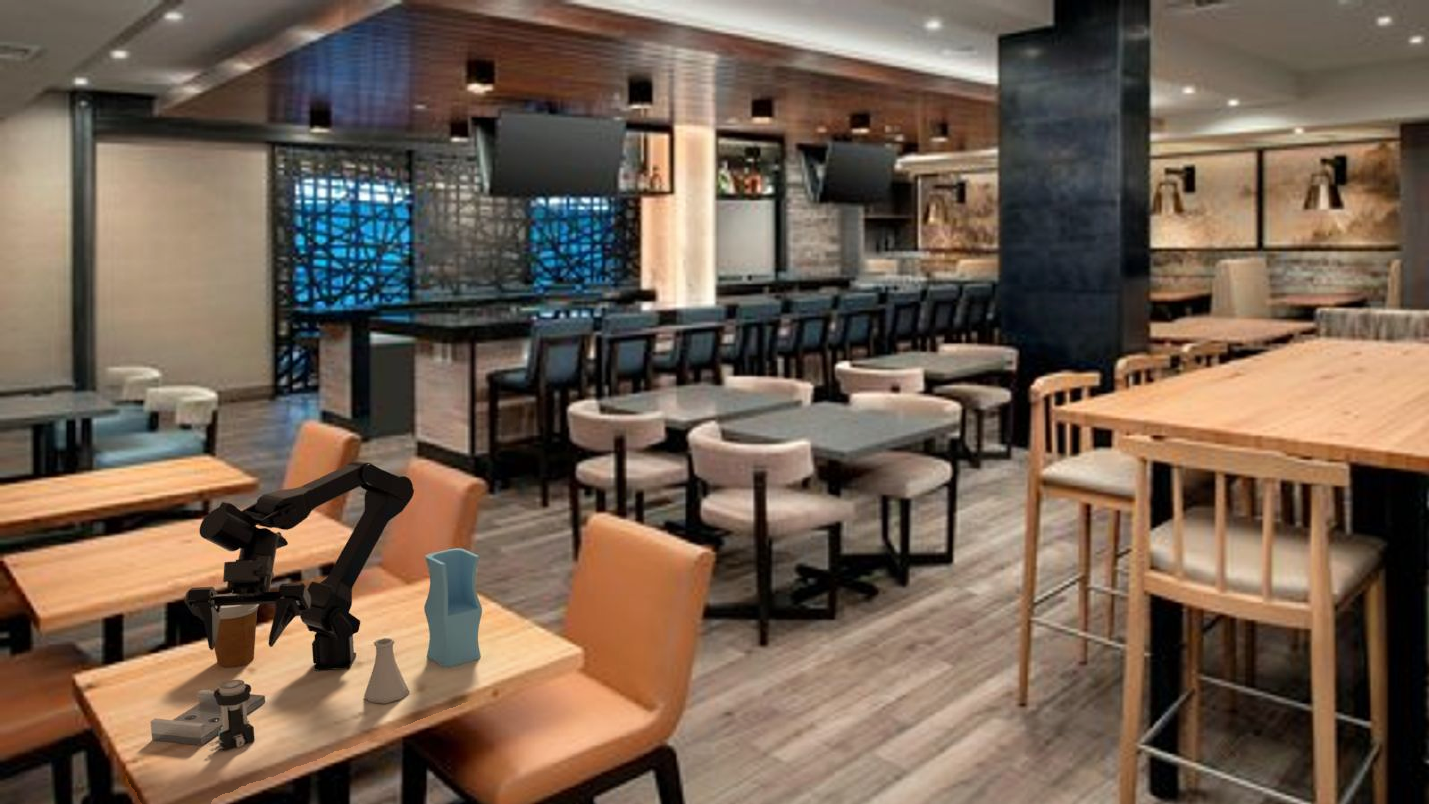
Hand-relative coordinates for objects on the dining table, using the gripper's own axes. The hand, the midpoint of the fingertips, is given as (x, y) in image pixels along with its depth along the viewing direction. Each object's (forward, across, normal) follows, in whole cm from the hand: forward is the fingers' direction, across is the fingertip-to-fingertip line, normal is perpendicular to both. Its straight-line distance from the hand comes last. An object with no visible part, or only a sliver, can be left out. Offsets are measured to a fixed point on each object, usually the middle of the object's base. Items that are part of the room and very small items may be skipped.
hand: (240, 647), depth 169 cm
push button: (+15, 0, +4) cm, 15 cm away
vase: (-8, +31, +26) cm, 41 cm away
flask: (+4, +21, +15) cm, 26 cm away
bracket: (+8, -6, +11) cm, 15 cm away
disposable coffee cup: (-10, -10, +29) cm, 33 cm away
